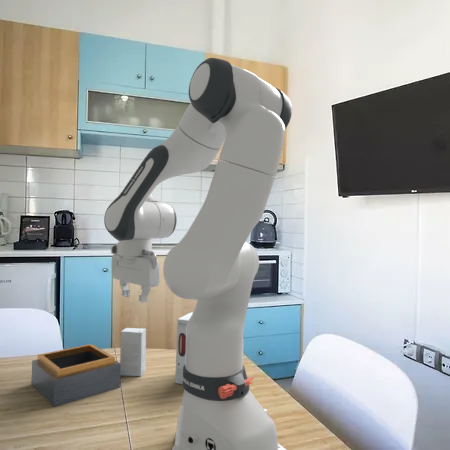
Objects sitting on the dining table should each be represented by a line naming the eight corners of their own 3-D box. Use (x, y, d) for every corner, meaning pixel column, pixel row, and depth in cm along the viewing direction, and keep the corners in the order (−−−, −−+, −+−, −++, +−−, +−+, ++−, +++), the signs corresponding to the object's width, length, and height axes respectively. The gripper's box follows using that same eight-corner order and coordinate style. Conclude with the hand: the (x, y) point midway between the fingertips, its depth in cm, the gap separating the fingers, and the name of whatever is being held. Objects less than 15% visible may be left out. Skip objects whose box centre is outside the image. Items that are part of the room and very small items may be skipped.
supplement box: (174, 383, 98) (175, 318, 98) (188, 370, 107) (190, 311, 107) (208, 389, 95) (210, 322, 95) (220, 375, 104) (222, 314, 104)
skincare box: (145, 370, 106) (146, 328, 106) (141, 376, 102) (141, 332, 102) (124, 369, 107) (125, 327, 107) (119, 375, 103) (120, 331, 103)
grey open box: (119, 387, 95) (120, 357, 95) (54, 407, 84) (54, 373, 84) (88, 365, 109) (88, 339, 109) (27, 380, 98) (28, 351, 98)
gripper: (166, 251, 99) (165, 304, 99) (127, 246, 114) (126, 292, 114) (145, 252, 95) (144, 307, 95) (108, 247, 110) (106, 294, 110)
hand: (134, 299), depth 105 cm, fingers open, 8 cm apart
